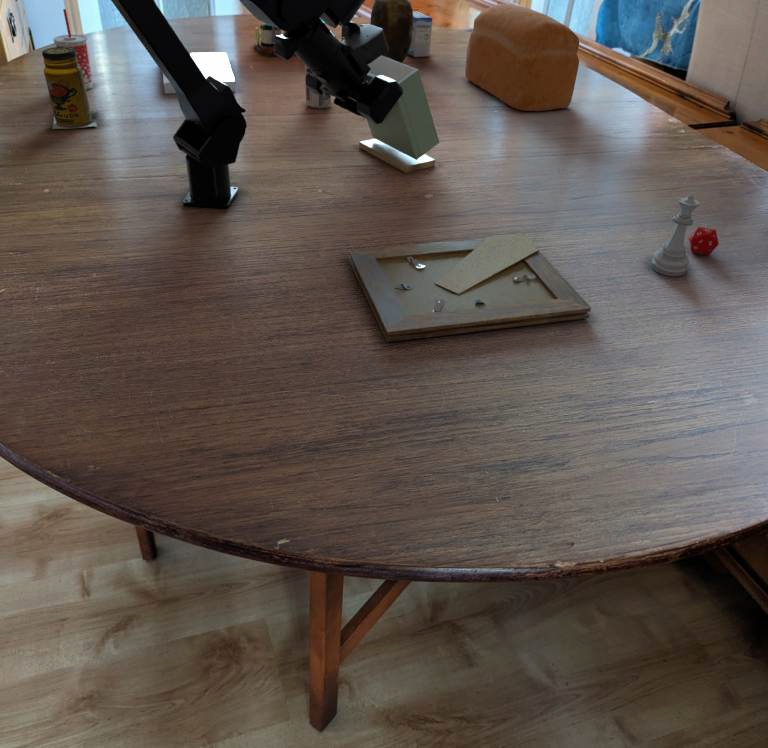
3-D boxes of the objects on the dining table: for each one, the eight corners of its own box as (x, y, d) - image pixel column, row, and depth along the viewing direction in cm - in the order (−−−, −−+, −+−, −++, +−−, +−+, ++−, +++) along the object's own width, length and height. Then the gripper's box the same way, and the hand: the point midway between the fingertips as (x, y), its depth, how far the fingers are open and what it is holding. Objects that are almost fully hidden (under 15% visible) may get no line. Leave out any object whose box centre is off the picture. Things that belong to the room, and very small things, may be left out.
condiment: (52, 130, 124) (34, 55, 116) (54, 114, 130) (38, 43, 123) (97, 127, 126) (82, 54, 118) (97, 112, 132) (83, 41, 125)
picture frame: (522, 244, 96) (348, 261, 91) (524, 232, 95) (348, 248, 90) (588, 319, 82) (387, 343, 77) (591, 306, 81) (387, 329, 75)
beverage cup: (97, 90, 143) (82, 12, 134) (64, 92, 141) (47, 13, 132) (95, 81, 147) (80, 5, 139) (63, 83, 145) (46, 6, 137)
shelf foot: (405, 172, 115) (405, 166, 114) (359, 147, 123) (359, 141, 122) (434, 165, 118) (435, 159, 117) (387, 141, 126) (387, 135, 125)
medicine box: (399, 49, 178) (401, 11, 173) (415, 48, 180) (417, 10, 175) (413, 57, 173) (416, 17, 167) (430, 56, 174) (433, 17, 169)
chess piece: (652, 257, 95) (673, 184, 89) (687, 264, 94) (711, 191, 88) (649, 272, 92) (671, 197, 86) (685, 279, 90) (710, 204, 84)
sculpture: (415, 74, 161) (422, -27, 149) (378, 75, 159) (382, -28, 147) (399, 59, 171) (404, -38, 159) (364, 60, 169) (367, -38, 157)
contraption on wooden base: (249, 42, 178) (245, -27, 169) (320, 39, 183) (319, -28, 174) (261, 57, 168) (257, -17, 158) (336, 53, 173) (336, -18, 164)
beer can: (327, 110, 138) (326, 43, 131) (303, 108, 139) (301, 40, 132) (333, 103, 142) (333, 37, 135) (310, 100, 143) (308, 35, 135)
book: (163, 63, 160) (162, 53, 159) (226, 61, 163) (226, 52, 162) (164, 93, 142) (163, 83, 141) (235, 91, 146) (235, 81, 144)
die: (727, 248, 96) (717, 219, 95) (715, 256, 94) (705, 226, 93) (701, 254, 98) (692, 227, 98) (689, 262, 96) (679, 234, 96)
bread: (516, 114, 141) (528, 26, 132) (459, 77, 160) (467, -2, 151) (576, 109, 145) (593, 23, 136) (514, 74, 165) (525, -4, 155)
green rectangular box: (416, 160, 116) (393, 88, 106) (373, 137, 123) (347, 68, 113) (439, 142, 117) (418, 69, 107) (395, 121, 124) (371, 51, 114)
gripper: (396, 19, 96) (450, 94, 109) (321, -5, 108) (378, 65, 120) (346, 88, 97) (405, 155, 109) (277, 56, 109) (337, 119, 121)
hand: (381, 120), depth 115 cm, fingers closed, pressing on green rectangular box
